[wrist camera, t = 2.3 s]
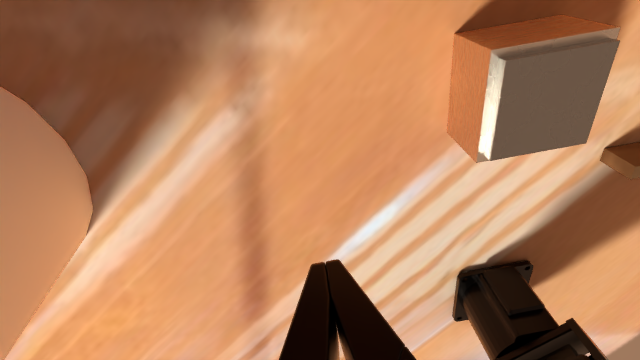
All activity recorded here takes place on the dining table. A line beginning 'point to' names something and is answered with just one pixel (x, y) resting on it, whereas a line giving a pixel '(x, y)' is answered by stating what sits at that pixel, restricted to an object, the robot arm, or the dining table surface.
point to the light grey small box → (528, 85)
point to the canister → (35, 213)
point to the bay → (624, 159)
